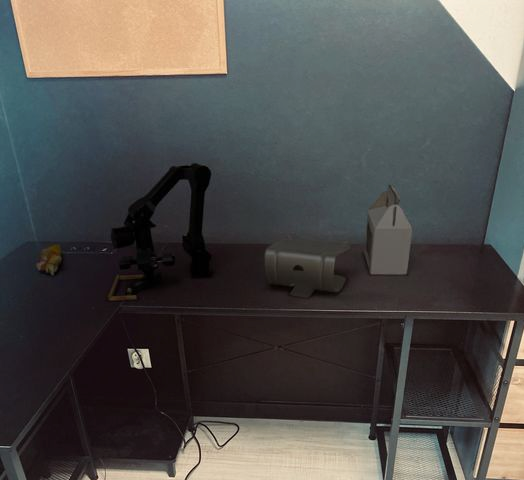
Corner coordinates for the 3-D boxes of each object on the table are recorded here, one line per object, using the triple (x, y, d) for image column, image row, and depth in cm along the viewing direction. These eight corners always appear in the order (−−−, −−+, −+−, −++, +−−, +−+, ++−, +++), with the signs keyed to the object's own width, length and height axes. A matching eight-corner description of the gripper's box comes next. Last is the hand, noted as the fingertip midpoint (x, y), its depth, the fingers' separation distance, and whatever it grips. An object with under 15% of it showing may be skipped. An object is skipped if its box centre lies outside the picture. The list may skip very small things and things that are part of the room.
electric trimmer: (165, 281, 194) (164, 273, 193) (132, 295, 184) (131, 287, 182) (157, 279, 196) (156, 271, 195) (125, 293, 186) (124, 284, 184)
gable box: (406, 275, 194) (416, 198, 179) (370, 274, 195) (377, 198, 180) (397, 253, 213) (405, 182, 198) (364, 253, 214) (370, 182, 199)
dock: (143, 277, 197) (142, 273, 196) (136, 299, 181) (135, 295, 180) (117, 278, 197) (116, 275, 196) (108, 300, 181) (107, 296, 180)
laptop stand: (262, 293, 183) (261, 250, 175) (283, 268, 202) (283, 228, 194) (334, 303, 175) (337, 259, 167) (350, 276, 194) (352, 235, 186)
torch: (62, 263, 222) (53, 278, 199) (43, 255, 219) (32, 271, 196) (69, 244, 219) (60, 258, 197) (49, 237, 217) (38, 250, 194)
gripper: (112, 252, 173) (121, 295, 182) (169, 247, 174) (176, 291, 182) (118, 240, 183) (126, 282, 191) (172, 236, 184) (178, 278, 192)
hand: (151, 283), depth 189 cm, fingers closed
